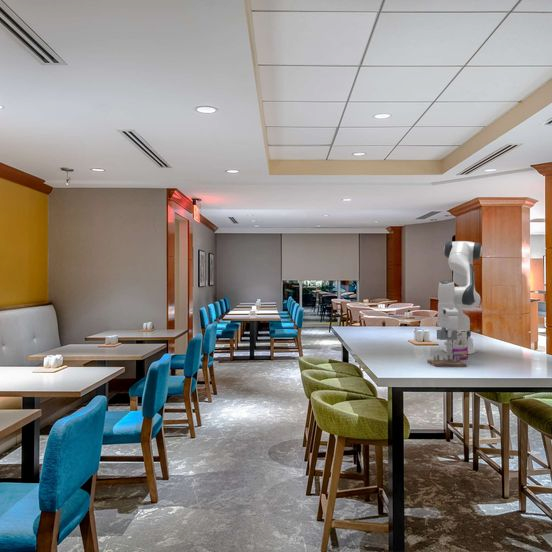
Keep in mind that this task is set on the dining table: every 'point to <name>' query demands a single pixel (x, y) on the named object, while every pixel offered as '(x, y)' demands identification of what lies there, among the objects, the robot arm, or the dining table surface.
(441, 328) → the robot arm
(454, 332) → the block
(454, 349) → the candy bar box
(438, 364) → the pin tray
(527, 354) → the dining table surface
